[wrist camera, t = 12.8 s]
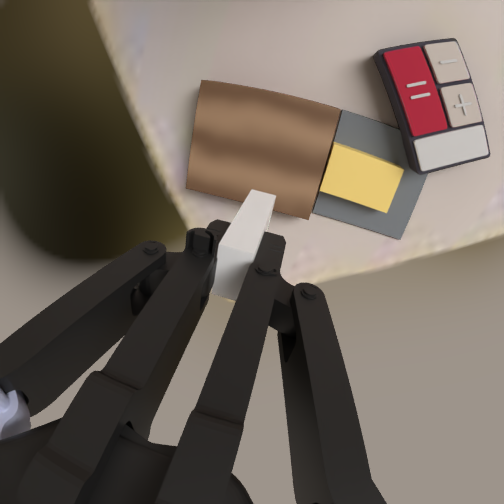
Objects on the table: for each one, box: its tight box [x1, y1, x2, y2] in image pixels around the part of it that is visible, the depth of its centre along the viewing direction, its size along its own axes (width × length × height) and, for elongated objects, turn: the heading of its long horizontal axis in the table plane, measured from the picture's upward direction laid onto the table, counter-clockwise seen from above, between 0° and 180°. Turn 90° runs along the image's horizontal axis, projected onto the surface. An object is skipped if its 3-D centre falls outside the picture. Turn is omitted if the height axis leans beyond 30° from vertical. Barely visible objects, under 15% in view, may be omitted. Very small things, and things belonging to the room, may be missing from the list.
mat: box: [313, 110, 428, 240], centre depth 35 cm, size 14×13×1 cm
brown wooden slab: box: [186, 80, 340, 220], centre depth 34 cm, size 14×16×3 cm
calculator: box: [373, 38, 490, 175], centre depth 26 cm, size 11×4×15 cm
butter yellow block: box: [320, 142, 404, 213], centre depth 34 cm, size 6×9×2 cm, turn 77°
